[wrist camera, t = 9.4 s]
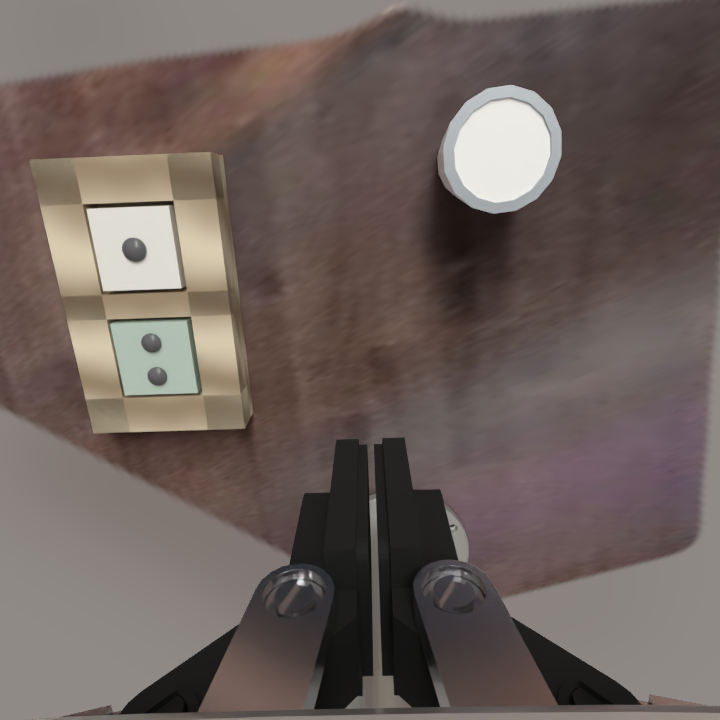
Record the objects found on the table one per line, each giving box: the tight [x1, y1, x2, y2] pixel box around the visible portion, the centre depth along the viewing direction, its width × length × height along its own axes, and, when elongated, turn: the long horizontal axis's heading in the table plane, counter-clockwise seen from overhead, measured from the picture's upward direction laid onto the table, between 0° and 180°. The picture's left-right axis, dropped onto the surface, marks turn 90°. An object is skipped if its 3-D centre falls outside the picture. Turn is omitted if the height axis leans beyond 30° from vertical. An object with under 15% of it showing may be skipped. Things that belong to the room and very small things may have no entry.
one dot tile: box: [86, 205, 186, 291], centre depth 35 cm, size 6×6×2 cm
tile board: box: [30, 152, 253, 433], centre depth 37 cm, size 20×12×3 cm, turn 2°
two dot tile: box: [110, 317, 202, 395], centre depth 37 cm, size 6×6×2 cm
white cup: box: [437, 85, 561, 214], centre depth 31 cm, size 7×7×7 cm
